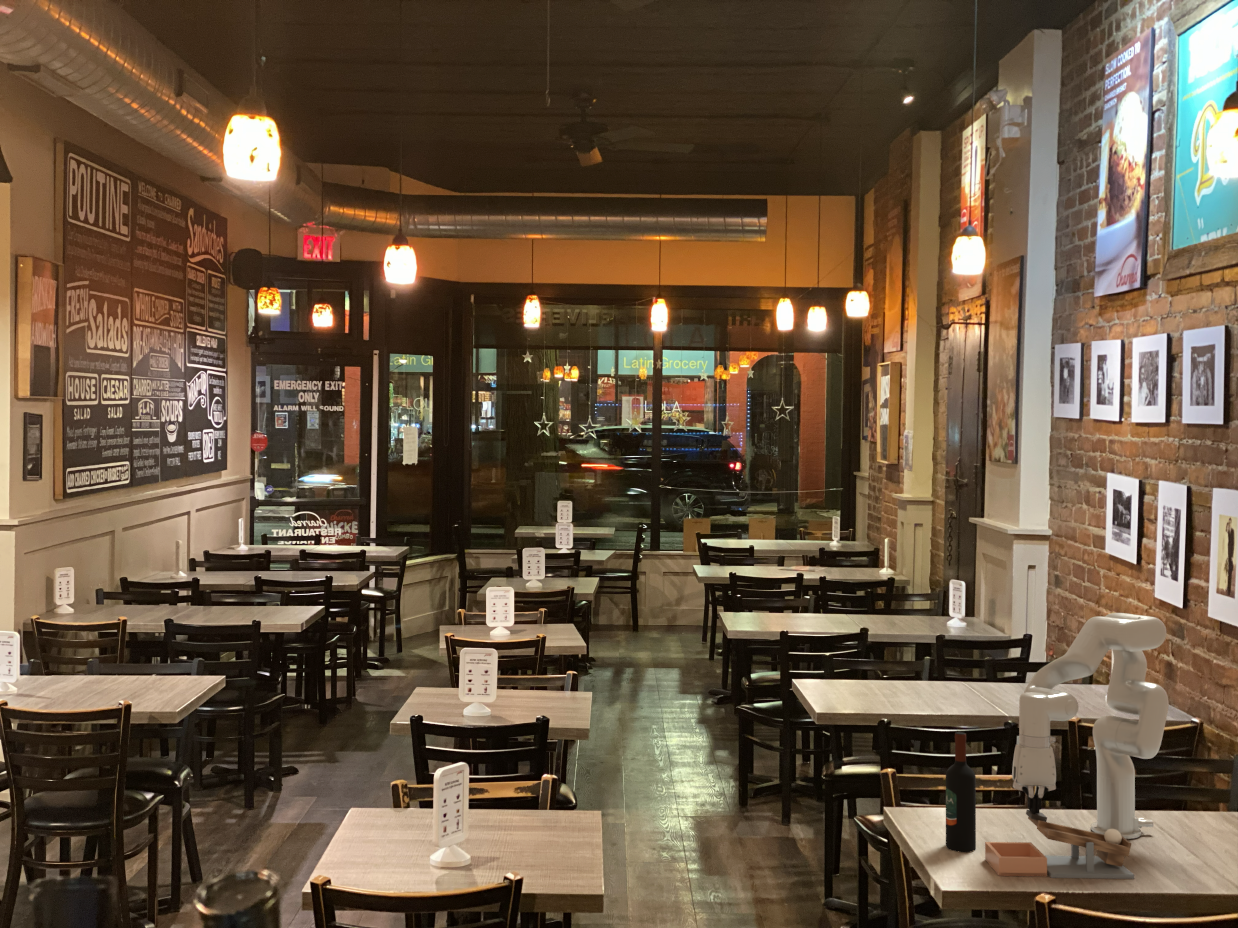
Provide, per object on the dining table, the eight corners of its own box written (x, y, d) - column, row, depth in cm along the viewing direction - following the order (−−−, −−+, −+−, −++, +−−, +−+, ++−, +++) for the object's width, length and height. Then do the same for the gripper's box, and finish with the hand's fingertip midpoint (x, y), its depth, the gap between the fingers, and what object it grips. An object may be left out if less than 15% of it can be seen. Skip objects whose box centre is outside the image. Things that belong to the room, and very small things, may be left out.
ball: (1117, 842, 280) (1118, 827, 280) (1123, 848, 276) (1125, 832, 276) (1101, 841, 280) (1102, 825, 280) (1107, 846, 276) (1108, 830, 276)
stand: (1112, 859, 284) (1112, 828, 284) (1134, 878, 271) (1134, 845, 271) (1033, 858, 285) (1032, 827, 285) (1051, 877, 272) (1050, 844, 272)
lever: (1098, 845, 291) (1103, 821, 291) (1125, 868, 274) (1131, 843, 274) (1022, 828, 291) (1027, 804, 291) (1045, 850, 274) (1050, 825, 274)
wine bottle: (971, 853, 289) (971, 737, 289) (942, 848, 293) (942, 734, 293) (979, 845, 295) (978, 732, 295) (950, 840, 299) (950, 728, 299)
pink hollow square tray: (1031, 859, 284) (1031, 842, 284) (1047, 876, 273) (1047, 857, 273) (985, 859, 285) (985, 841, 285) (999, 875, 273) (999, 857, 273)
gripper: (1058, 738, 293) (1058, 808, 293) (1001, 737, 294) (1000, 807, 293) (1069, 744, 286) (1068, 816, 285) (1010, 743, 286) (1009, 815, 286)
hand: (1034, 811), depth 289 cm, fingers closed
